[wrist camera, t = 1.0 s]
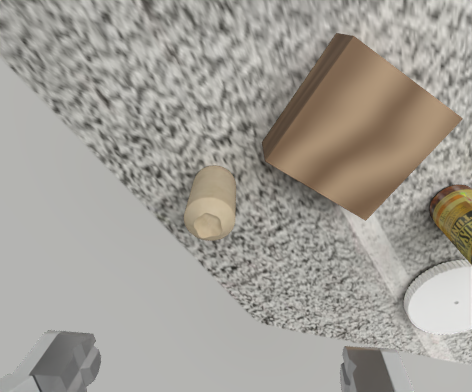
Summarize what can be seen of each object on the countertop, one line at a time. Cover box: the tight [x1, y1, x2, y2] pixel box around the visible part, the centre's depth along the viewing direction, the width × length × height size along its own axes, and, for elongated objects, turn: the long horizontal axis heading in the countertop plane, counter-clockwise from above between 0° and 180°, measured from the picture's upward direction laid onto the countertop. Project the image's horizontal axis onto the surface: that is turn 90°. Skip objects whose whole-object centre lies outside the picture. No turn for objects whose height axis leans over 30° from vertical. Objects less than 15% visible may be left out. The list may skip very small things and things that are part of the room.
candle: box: [184, 166, 236, 241], centre depth 39 cm, size 6×6×10 cm
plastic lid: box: [403, 259, 472, 335], centre depth 51 cm, size 14×14×2 cm
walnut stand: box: [262, 33, 463, 221], centre depth 37 cm, size 14×14×6 cm
